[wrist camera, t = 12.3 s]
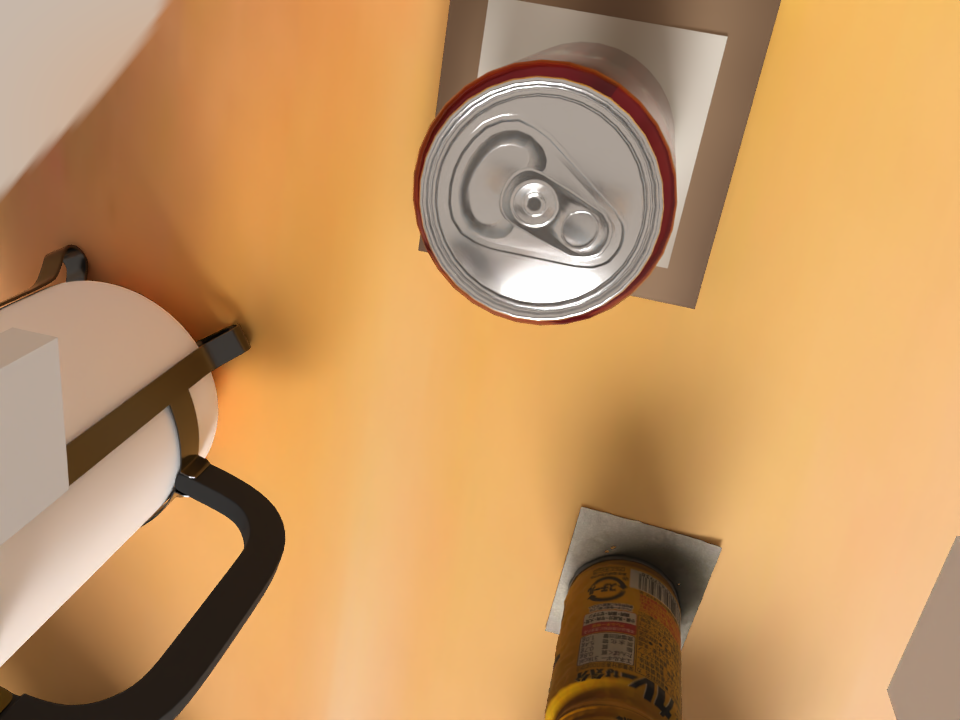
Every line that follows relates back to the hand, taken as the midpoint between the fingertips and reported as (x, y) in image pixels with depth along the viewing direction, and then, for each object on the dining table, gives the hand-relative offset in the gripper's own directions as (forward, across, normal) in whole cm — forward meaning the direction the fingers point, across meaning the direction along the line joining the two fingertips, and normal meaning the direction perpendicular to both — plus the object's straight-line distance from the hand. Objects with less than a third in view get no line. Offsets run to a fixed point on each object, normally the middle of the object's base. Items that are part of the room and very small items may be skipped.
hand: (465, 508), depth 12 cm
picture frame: (+27, -1, +2) cm, 27 cm away
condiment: (+27, +6, -21) cm, 35 cm away
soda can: (+24, -1, +2) cm, 24 cm away
